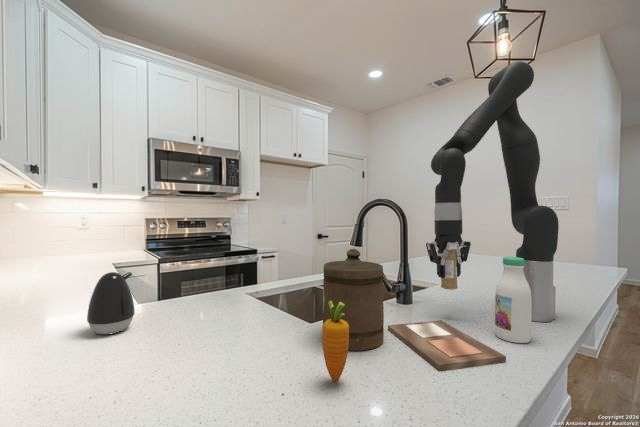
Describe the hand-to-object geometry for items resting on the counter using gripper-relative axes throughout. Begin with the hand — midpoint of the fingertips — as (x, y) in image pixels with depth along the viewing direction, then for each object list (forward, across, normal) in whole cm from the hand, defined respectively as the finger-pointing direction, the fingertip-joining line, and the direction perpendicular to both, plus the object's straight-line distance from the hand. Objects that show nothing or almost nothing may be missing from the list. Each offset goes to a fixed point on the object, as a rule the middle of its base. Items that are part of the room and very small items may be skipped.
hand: (448, 276), depth 92 cm
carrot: (+12, +43, +24) cm, 51 cm away
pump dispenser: (+11, +91, -13) cm, 93 cm away
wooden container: (+12, +32, +6) cm, 35 cm away
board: (+12, +14, +15) cm, 23 cm away
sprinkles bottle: (+4, 0, 0) cm, 4 cm away
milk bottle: (+13, -6, +16) cm, 21 cm away
